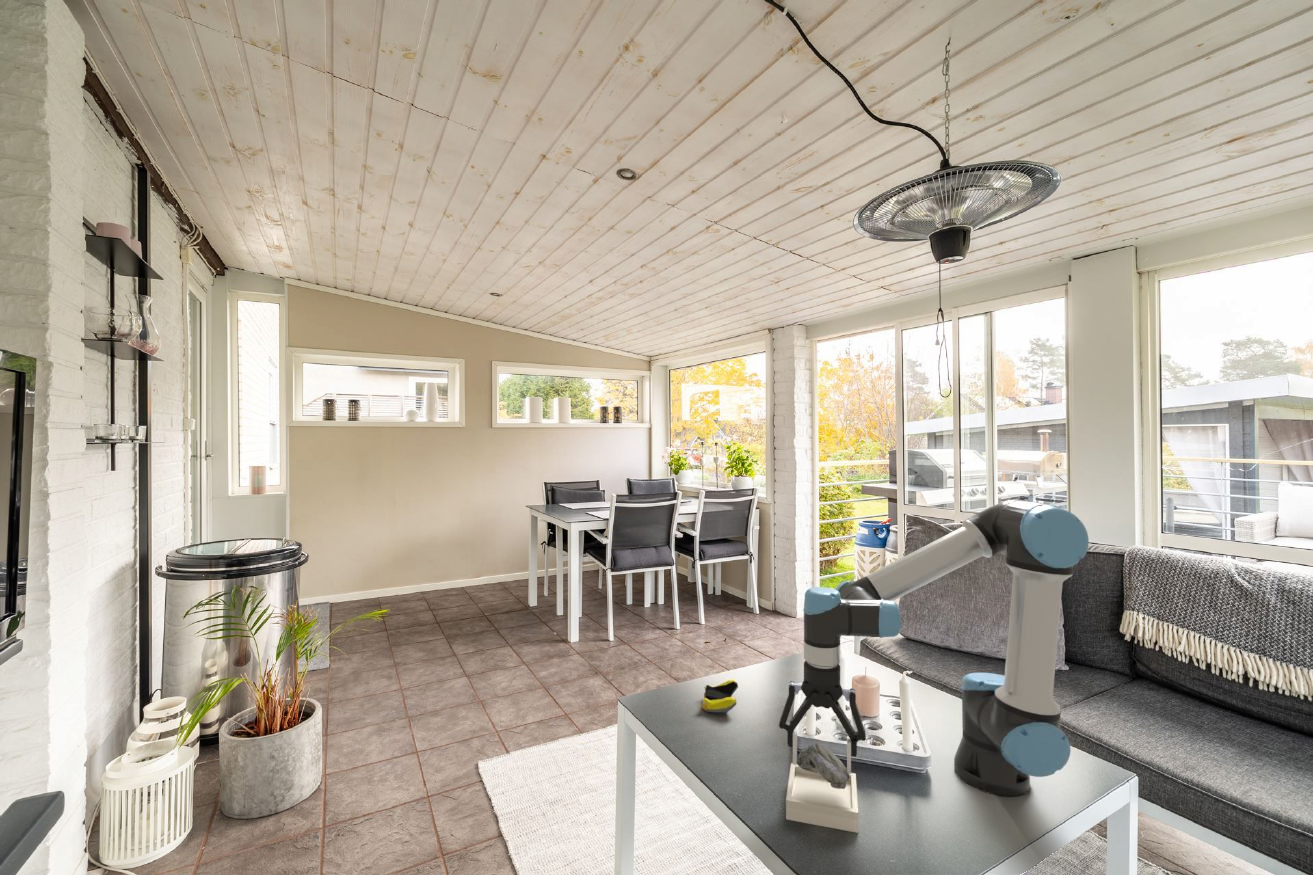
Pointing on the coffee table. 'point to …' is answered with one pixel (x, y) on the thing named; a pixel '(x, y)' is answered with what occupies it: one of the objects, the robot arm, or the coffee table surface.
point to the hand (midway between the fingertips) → (821, 765)
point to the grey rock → (824, 765)
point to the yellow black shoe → (719, 697)
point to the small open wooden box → (821, 800)
